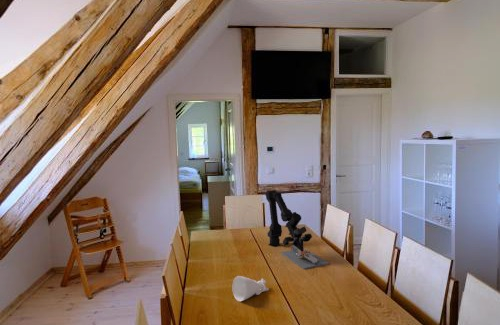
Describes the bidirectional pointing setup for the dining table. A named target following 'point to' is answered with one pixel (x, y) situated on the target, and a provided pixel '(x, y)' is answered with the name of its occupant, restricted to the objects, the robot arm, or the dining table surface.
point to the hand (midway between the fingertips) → (302, 251)
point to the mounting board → (304, 260)
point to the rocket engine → (247, 287)
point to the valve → (305, 255)
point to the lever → (301, 253)
